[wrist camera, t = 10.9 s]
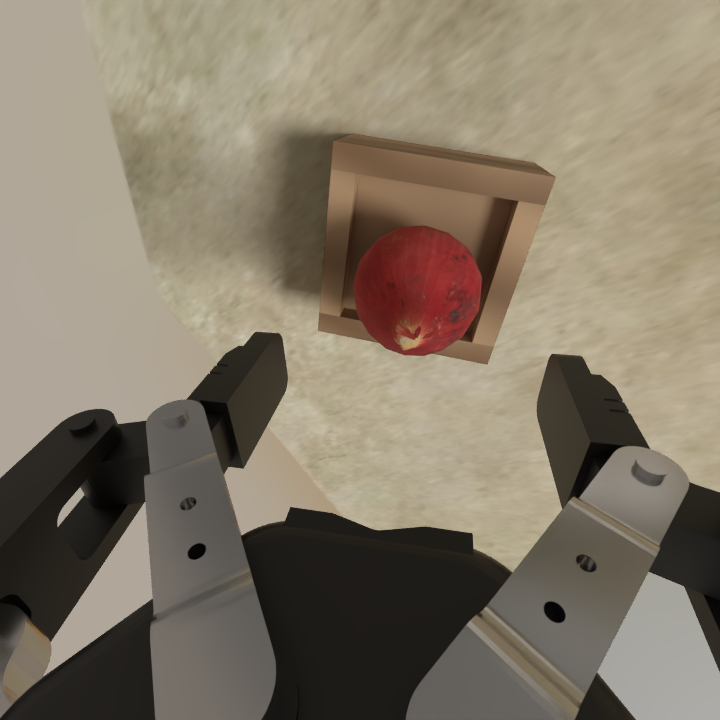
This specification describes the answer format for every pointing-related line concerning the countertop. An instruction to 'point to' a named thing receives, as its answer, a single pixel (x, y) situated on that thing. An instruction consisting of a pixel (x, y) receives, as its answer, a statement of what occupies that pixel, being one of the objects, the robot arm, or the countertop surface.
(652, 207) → the countertop surface
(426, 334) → the onion
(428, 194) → the wooden box
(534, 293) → the countertop surface
